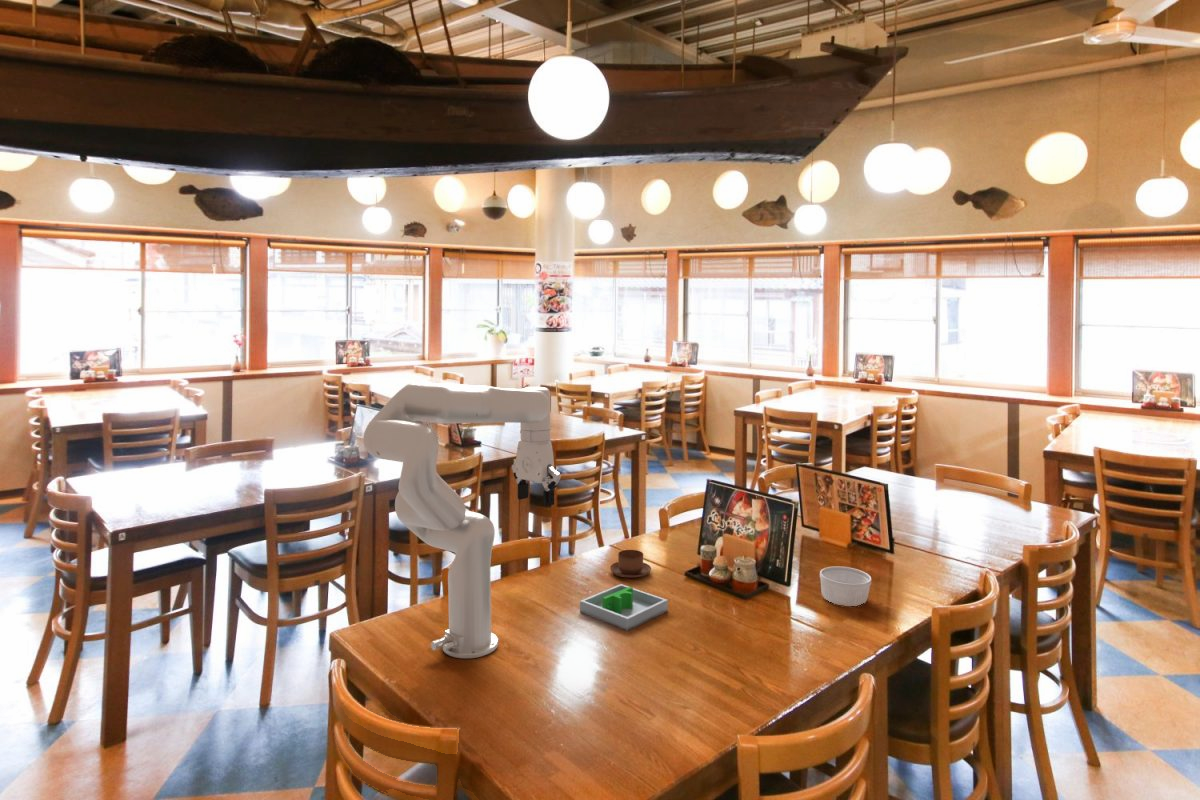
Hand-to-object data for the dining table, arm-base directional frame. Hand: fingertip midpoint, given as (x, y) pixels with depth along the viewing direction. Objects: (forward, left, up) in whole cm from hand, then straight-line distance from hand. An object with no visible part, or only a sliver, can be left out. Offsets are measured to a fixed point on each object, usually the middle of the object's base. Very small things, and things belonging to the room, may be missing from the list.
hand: (535, 501), depth 184 cm
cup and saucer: (+36, -2, -29) cm, 46 cm away
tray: (+14, -18, -28) cm, 36 cm away
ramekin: (+61, -56, -29) cm, 88 cm away
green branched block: (+13, -17, -28) cm, 36 cm away
